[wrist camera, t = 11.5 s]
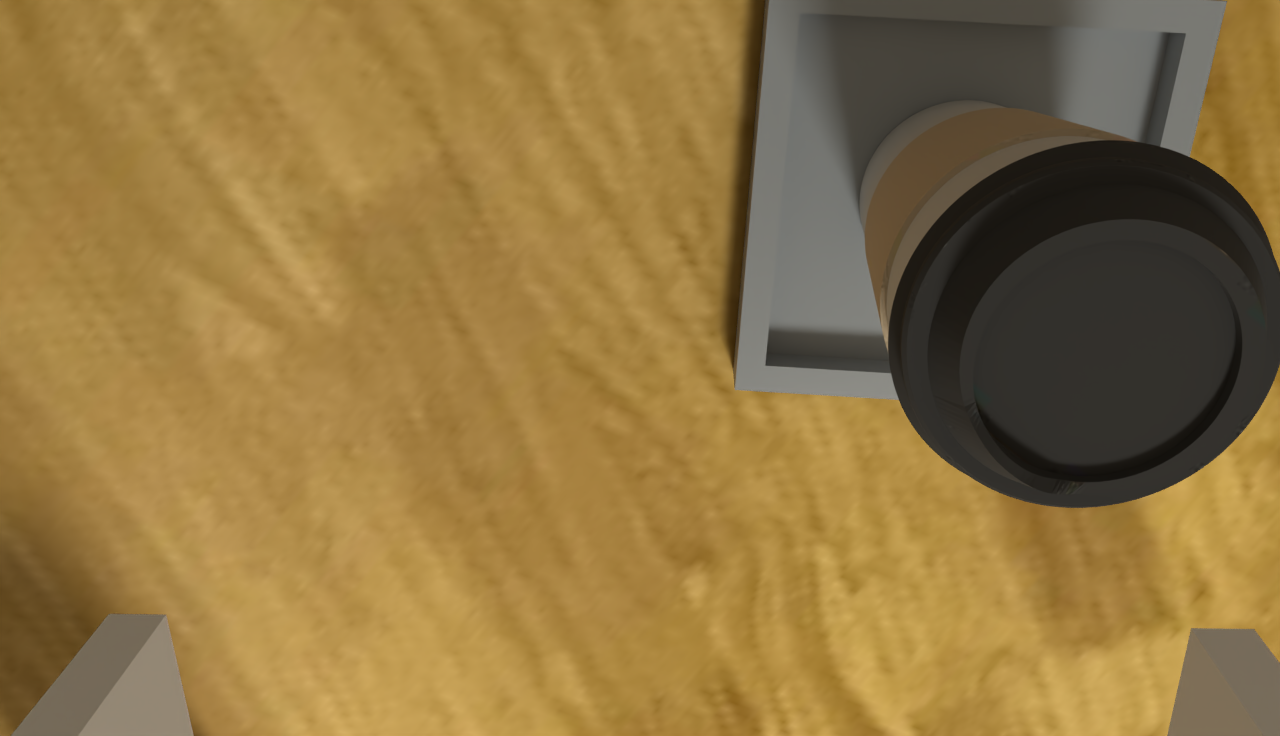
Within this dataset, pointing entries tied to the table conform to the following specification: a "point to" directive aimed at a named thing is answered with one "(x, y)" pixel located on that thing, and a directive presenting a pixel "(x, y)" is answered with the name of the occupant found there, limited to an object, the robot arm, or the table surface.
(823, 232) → the tray
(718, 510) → the table surface
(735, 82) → the table surface
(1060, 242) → the coffee cup
